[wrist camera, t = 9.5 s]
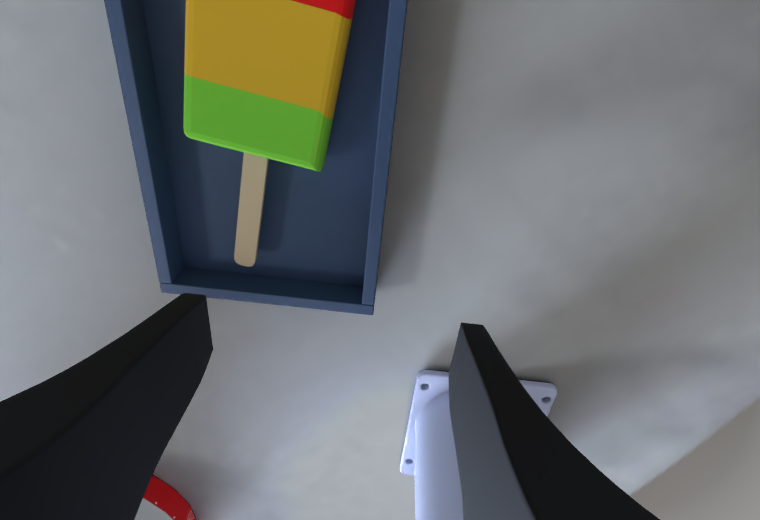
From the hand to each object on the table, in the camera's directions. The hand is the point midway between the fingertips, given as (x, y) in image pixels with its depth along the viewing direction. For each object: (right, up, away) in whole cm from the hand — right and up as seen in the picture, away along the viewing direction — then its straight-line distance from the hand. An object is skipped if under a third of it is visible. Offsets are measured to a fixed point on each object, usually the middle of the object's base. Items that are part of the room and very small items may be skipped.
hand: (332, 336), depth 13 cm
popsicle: (-3, +9, +6) cm, 11 cm away
